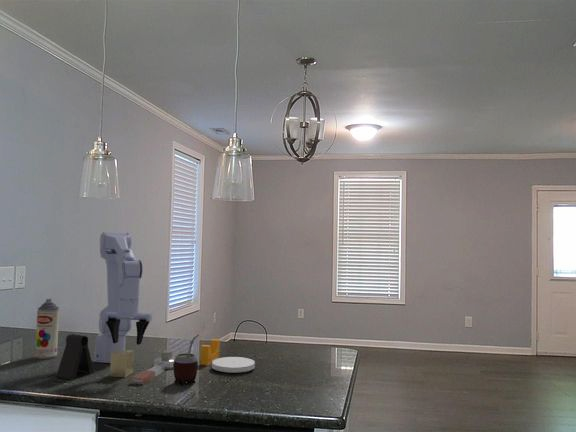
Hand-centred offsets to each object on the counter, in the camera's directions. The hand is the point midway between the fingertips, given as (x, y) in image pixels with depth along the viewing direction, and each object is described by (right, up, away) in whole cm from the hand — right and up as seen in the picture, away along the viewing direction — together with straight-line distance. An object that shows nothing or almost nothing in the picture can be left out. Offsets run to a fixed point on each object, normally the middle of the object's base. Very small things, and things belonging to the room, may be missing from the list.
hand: (127, 343), depth 153 cm
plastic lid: (+32, -11, +10) cm, 35 cm away
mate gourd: (+20, -10, -8) cm, 24 cm away
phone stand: (-15, -9, -3) cm, 18 cm away
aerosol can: (-34, -9, +17) cm, 39 cm away
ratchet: (+8, -10, +2) cm, 13 cm away
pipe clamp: (+22, -11, +19) cm, 31 cm away
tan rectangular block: (-1, -9, -1) cm, 9 cm away
